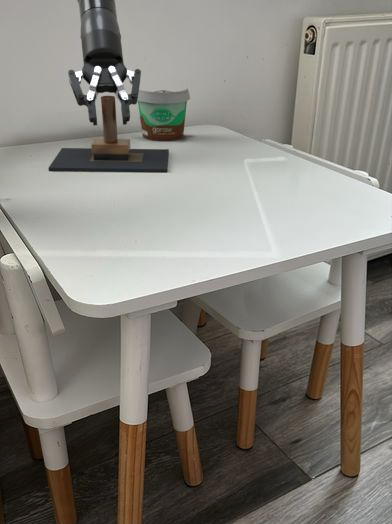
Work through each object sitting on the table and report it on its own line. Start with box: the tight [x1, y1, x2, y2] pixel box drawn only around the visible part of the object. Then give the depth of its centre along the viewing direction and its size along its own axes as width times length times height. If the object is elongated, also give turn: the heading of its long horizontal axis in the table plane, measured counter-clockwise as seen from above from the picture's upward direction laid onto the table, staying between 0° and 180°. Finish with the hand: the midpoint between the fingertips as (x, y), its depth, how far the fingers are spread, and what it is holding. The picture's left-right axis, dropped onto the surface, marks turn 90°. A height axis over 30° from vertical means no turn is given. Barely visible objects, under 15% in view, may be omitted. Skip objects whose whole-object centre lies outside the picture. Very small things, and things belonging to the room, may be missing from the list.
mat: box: [47, 147, 170, 173], centre depth 109 cm, size 22×14×1 cm, turn 91°
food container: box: [137, 87, 191, 142], centre depth 122 cm, size 12×6×10 cm, turn 104°
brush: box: [90, 95, 131, 161], centre depth 106 cm, size 7×4×11 cm, turn 91°
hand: (110, 122), depth 104 cm, fingers open, 5 cm apart
